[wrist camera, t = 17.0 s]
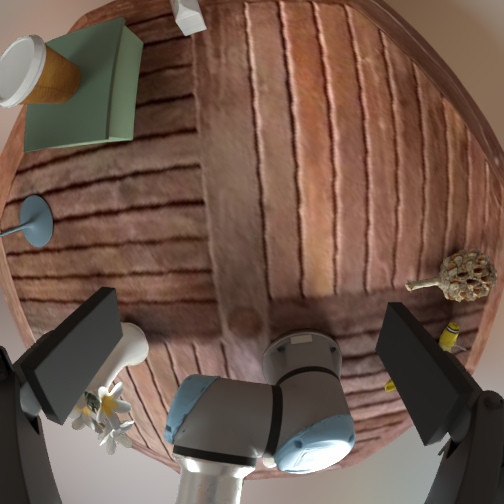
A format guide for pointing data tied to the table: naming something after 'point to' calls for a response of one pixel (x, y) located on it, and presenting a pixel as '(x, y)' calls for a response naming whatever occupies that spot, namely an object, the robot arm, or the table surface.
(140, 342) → the flower vase
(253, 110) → the table surface
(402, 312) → the robot arm
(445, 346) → the sprinkler
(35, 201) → the cocktail glass
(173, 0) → the white gable carton
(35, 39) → the disposable coffee cup
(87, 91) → the green lidded box
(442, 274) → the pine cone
